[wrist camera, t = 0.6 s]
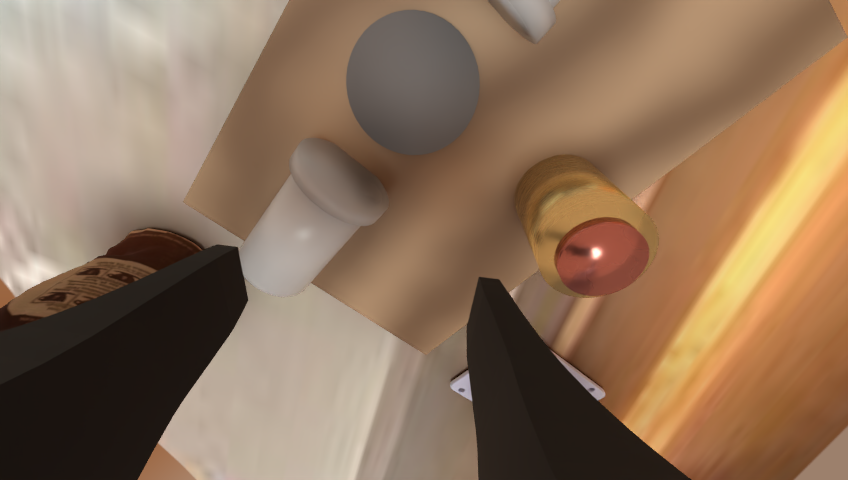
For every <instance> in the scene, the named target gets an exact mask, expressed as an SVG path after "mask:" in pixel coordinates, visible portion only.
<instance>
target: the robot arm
mask: <svg viewBox="0 0 848 480" xmlns="http://www.w3.org/2000/svg"><path fill="white" fill-rule="evenodd" d="M247 302H248V296H247V291H246V286H245V281H244V276H243V271H242V266H241V261H240V256H239V251H238V247H232V246H224V245H215V246H212V247H210V248H207V249H205V250H202V251H200V252H198V253H196V254H193V255H191V256H189V257H187V258H185V259H182V260H180V261H178V262H176V263H174V264H172V265H169V266H167V267H165V268H163V269H161V270H159V271H156V272H154V273H152V274H150V275H148V276H146V277H143V278H141V279H139V280H137V281H134V282H132V283H130V284H127V285H125V286H123V287H120V288H118V289H116V290H113V291H111V292H109V293H106V294H104V295H102V296H99V297H97V298H94V299H92V300H90V301H87V302H85V303H82V304H80V305H77V306H74V307H72V308H69V309H66V310H64V311H61V312H58V313H55V314H53V315H50V316H47V317H44V318H41V319H39V320H36V321H33V322H30V323H27V324H24V325H21V326H18V327H15V328H12V329H8V330H5V331H2V332H0V480H137V479H138V478H139V476H140V474H141V472H142V470H143V469H144V467H145V465H146V463H147V461H148V459H149V457H150V456H151V454H152V452H153V450H154V448H155V447H156V445H157V443H158V441H159V440H160V438H161V436H162V434H163V433H164V431H165V429H166V427H167V426H168V424H169V422H170V421H171V419H172V417H173V415H174V414H175V412H176V411H177V409H178V407H179V406H180V404H181V403H182V401H183V400H184V398H185V397H186V395H187V394H188V393H189V391H190V390H191V388H192V387H193V386H194V384H195V383H196V381H197V380H198V379H199V377H200V376H201V374H202V373H203V372H204V370H205V369H206V367H207V366H208V365H209V363H210V362H211V360H212V359H213V358H214V356H215V355H216V353H217V352H218V350H219V349H220V348H221V346H222V345H223V343H224V342H225V340H226V339H227V338H228V336H229V335H230V333H231V332H232V330H233V329H234V327H235V325H236V323H237V321H238V319H239V318H240V316H241V314H242V312H243V310H244V308H245V306H246V304H247ZM467 362H468V370H467V371H466V372H464V373H463V374H461V375H460V376H458V377H457V378H455V379H454V380H452V381H451V383H450V386H451V389H452V390H454V391H455V392H457V393H459V394H460V395H462V396H464V397H465V398H467V399H469V400H470V401H472V403H473V411H474V419H475V427H476V436H477V448H478V477H479V480H691V479H690V478H688V477H687V476H686V475H684V474H683V473H682V472H681V471H679V470H678V469H677V468H676V467H674V466H673V465H672V464H671V463H669V462H668V461H667V460H666V459H664V458H663V457H662V456H661V455H659V454H658V453H657V452H656V451H654V450H653V449H652V448H651V447H649V446H648V445H647V444H646V443H645V442H643V441H642V440H641V439H640V438H639V437H638V436H636V435H635V434H634V433H633V432H632V431H630V430H629V429H628V428H627V427H626V426H625V425H624V424H623V423H622V422H620V421H619V420H618V419H617V418H616V417H615V416H614V415H613V414H612V413H611V412H609V411H608V410H607V409H606V408H605V407H604V406H603V405H602V404H601V403H600V402H599V401H598V400H600V399H602V398H603V397H604V396H605V391H604V390H603V388H601V387H600V386H598V385H597V384H596V383H594V382H593V381H592V380H590V379H589V378H588V377H586V376H585V375H584V374H582V373H581V372H580V371H578V370H577V369H576V368H574V367H573V366H572V365H570V364H569V363H567V362H566V361H565V360H563V359H562V358H561V357H559V356H558V355H557V354H555V353H554V352H553V351H551V350H550V349H549V348H548V347H547V345H546V344H545V343H544V342H543V340H542V339H541V338H540V336H539V335H538V334H537V332H536V331H535V330H534V328H533V327H532V326H531V324H530V323H529V322H528V320H527V319H526V318H525V316H524V315H523V313H522V312H521V311H520V309H519V308H518V306H517V305H516V303H515V302H514V300H513V299H512V297H511V296H510V294H509V293H508V291H507V290H506V288H505V287H504V285H503V284H502V282H501V281H500V280H499V279H493V278H485V277H479V278H478V282H477V286H476V290H475V295H474V299H473V303H472V307H471V311H470V315H469V319H468V324H467Z"/></svg>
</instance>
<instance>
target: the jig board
mask: <svg viewBox="0 0 848 480" xmlns="http://www.w3.org/2000/svg"><path fill="white" fill-rule="evenodd" d="M403 10H420V11H426V12H429V13H432V14H435V15H437V16H439V17H441V18H443V19H445V20H446V21H448V22H449V23H451V24H452V25H453V26H454V27H455V28H456V29H457V30H459V32H460V33H461V34H462V35H463V36H464V38H465V39H466V41H467V42H468V44H469V45H470V47H471V49H472V51H473V54H474V56H475V59H476V62H477V65H478V71H479V80H480V88H479V97H478V103H477V106H476V109H475V112H474V114H473V117H472V119H471V121H470V122H469V124H468V126H467V127H466V129H465V130H464V131H463V132H462V133H461V135H460V136H459V137H458V138H456V139H455V140H454V141H453V142H452V143H450V144H449V145H447V146H446V147H444V148H442V149H440V150H438V151H435V152H432V153H428V154H422V155H407V154H401V153H397V152H394V151H391V150H389V149H387V148H385V147H383V146H381V145H380V144H378V143H377V142H375V141H374V140H373V139H372V138H371V137H370V136H369V135H367V133H366V132H365V131H364V130H363V129H362V128H361V126H360V124H359V123H358V121H357V120H356V118H355V116H354V114H353V112H352V109H351V106H350V104H349V99H348V95H347V87H346V74H347V66H348V62H349V58H350V55H351V53H352V50H353V48H354V46H355V44H356V42H357V41H358V39H359V38H360V36H361V35H362V34H363V32H364V31H365V30H366V29H367V28H368V27H369V26H370V25H371V24H373V23H374V22H375V21H377V20H378V19H380V18H382V17H384V16H386V15H388V14H391V13H394V12H397V11H403ZM553 10H554V12H555V16H556V23H555V24H554V25H553V26H552V28H551V29H550V30H549V31H548V32H547V33H546V34H545V35H544V36H543V37H542V39H541V40H540V41H539V42H538V43H537V44H533V43H531V42H530V41H528V40H527V39H525V38H524V37H523V36H521V35H520V34H519V33H518V32H517V31H515V30H514V29H513V28H512V27H511V26H510V25H509V24H508V23H507V22H506V21H505V20H504V19H503V18H502V16H501V15H500V14H499V13H498V12H497V11H496V10H495V9H494V8H493V6H492V5H491V4H490V3H489V2H488V1H487V0H289V2H288V4H287V6H286V8H285V9H284V11H283V13H282V15H281V17H280V19H279V21H278V23H277V25H276V27H275V28H274V30H273V32H272V34H271V36H270V38H269V40H268V42H267V44H266V46H265V47H264V49H263V51H262V53H261V55H260V57H259V59H258V61H257V63H256V65H255V66H254V68H253V70H252V72H251V74H250V76H249V78H248V80H247V82H246V84H245V85H244V87H243V89H242V91H241V93H240V95H239V97H238V99H237V101H236V103H235V104H234V106H233V108H232V110H231V112H230V114H229V116H228V118H227V120H226V122H225V123H224V125H223V127H222V129H221V131H220V133H219V135H218V137H217V139H216V141H215V142H214V144H213V146H212V148H211V150H210V152H209V154H208V156H207V158H206V160H205V161H204V163H203V165H202V167H201V169H200V171H199V173H198V175H197V177H196V179H195V180H194V182H193V184H192V186H191V188H190V190H189V192H188V194H187V196H186V198H185V199H184V201H183V202H184V203H185V204H187V205H188V206H190V207H192V208H193V209H195V210H196V211H198V212H199V213H201V214H203V215H204V216H206V217H207V218H209V219H211V220H212V221H214V222H215V223H217V224H219V225H220V226H222V227H223V228H225V229H227V230H228V231H230V232H231V233H233V234H234V235H236V236H238V237H239V238H241V239H242V240H244V241H245V240H246V239H247V237H248V236H249V234H250V233H251V231H252V230H253V228H254V227H255V225H256V224H257V223H258V221H259V220H260V218H261V217H262V215H263V214H264V212H265V211H266V209H267V208H268V206H269V205H270V204H271V202H272V201H273V199H274V198H275V196H276V195H277V193H278V192H279V190H280V189H281V187H282V186H283V185H284V183H285V182H286V180H287V179H288V177H289V176H290V174H291V172H290V169H289V159H290V157H291V155H292V154H293V152H294V151H295V149H296V148H297V146H298V145H299V143H300V142H301V141H302V140H304V139H306V138H319V139H323V140H327V141H329V142H332V143H334V144H336V145H337V146H338V147H340V148H341V149H342V150H343V151H345V152H346V153H347V154H348V155H350V156H351V157H352V158H353V159H355V160H356V161H357V162H359V163H360V164H361V165H362V166H364V167H365V168H366V169H367V170H369V171H370V172H371V173H372V174H374V175H375V176H376V177H377V178H378V179H379V180H380V182H381V183H382V185H383V186H384V188H385V190H386V192H387V195H388V199H389V206H388V208H387V210H386V211H385V212H384V213H383V214H382V215H381V217H380V218H379V219H378V220H377V221H376V222H375V223H373V224H372V225H369V226H360V228H359V229H358V230H357V231H356V232H355V233H354V234H353V235H352V237H351V238H350V239H349V240H348V241H347V242H346V243H345V244H344V246H343V247H342V248H341V249H340V250H339V251H338V252H337V254H336V255H335V256H334V257H333V258H332V259H331V260H330V261H329V263H328V264H327V265H326V266H325V267H324V268H323V269H322V270H321V272H320V273H319V274H318V275H317V276H316V277H315V278H314V280H313V281H312V282H311V283H312V284H314V285H316V286H317V287H319V288H320V289H322V290H323V291H325V292H327V293H328V294H330V295H331V296H333V297H335V298H336V299H338V300H339V301H341V302H343V303H344V304H346V305H347V306H349V307H351V308H352V309H354V310H355V311H357V312H358V313H360V314H362V315H363V316H365V317H366V318H368V319H370V320H371V321H373V322H374V323H376V324H378V325H379V326H381V327H382V328H384V329H385V330H387V331H389V332H390V333H392V334H393V335H395V336H397V337H398V338H400V339H401V340H403V341H405V342H406V343H408V344H409V345H411V346H412V347H414V348H416V349H417V350H419V351H420V352H422V353H424V354H425V355H426V354H428V353H429V352H430V351H432V350H433V349H434V348H436V347H437V346H438V345H440V344H441V343H442V342H444V341H445V340H446V339H448V338H449V337H450V336H452V335H453V334H454V333H456V332H457V331H458V330H460V329H461V328H462V327H464V326H465V325H466V324H468V319H469V315H470V311H471V307H472V303H473V299H474V295H475V290H476V286H477V282H478V278H479V277H485V278H493V279H499V280H500V281H501V282H502V284H503V285H504V287H505V288H506V290H507V291H508V293H509V292H510V291H511V290H513V289H514V288H515V287H517V286H518V285H519V284H521V283H522V282H523V281H525V280H526V279H527V278H529V277H530V276H531V275H533V274H534V273H535V272H537V271H538V270H539V267H538V264H537V262H536V259H535V257H534V254H533V252H532V249H531V247H530V244H529V242H528V239H527V237H526V234H525V232H524V229H523V226H522V224H521V221H520V219H519V216H518V214H517V211H516V208H515V192H516V188H517V186H518V183H519V181H520V180H521V178H522V177H523V175H524V174H525V173H526V172H527V171H528V170H529V169H530V168H531V167H532V166H533V165H535V164H536V163H538V162H539V161H541V160H543V159H546V158H548V157H551V156H555V155H562V154H569V155H576V156H579V157H582V158H584V159H586V160H588V161H589V162H590V163H591V164H593V165H594V166H595V167H596V168H597V169H598V170H599V171H600V172H601V173H603V174H604V175H605V176H606V177H607V178H608V179H609V180H610V181H611V182H612V183H613V184H615V185H616V186H617V187H618V188H619V189H620V190H621V191H622V192H623V193H624V194H626V195H627V196H628V197H629V198H630V199H631V200H632V199H634V198H635V197H636V196H637V195H639V194H640V193H641V192H643V191H644V190H645V189H647V188H648V187H649V186H651V185H652V184H653V183H655V182H656V181H657V180H659V179H660V178H661V177H663V176H664V175H665V174H667V173H668V172H669V171H671V170H672V169H673V168H675V167H676V166H677V165H679V164H680V163H681V162H683V161H684V160H685V159H687V158H688V157H689V156H691V155H692V154H693V153H695V152H696V151H697V150H699V149H700V148H701V147H703V146H704V145H705V144H707V143H708V142H709V141H711V140H712V139H713V138H715V137H716V136H717V135H719V134H720V133H721V132H722V131H724V130H725V129H726V128H728V127H729V126H730V125H732V124H733V123H734V122H736V121H737V120H738V119H740V118H741V117H742V116H744V115H745V114H746V113H748V112H749V111H750V110H752V109H753V108H754V107H756V106H757V105H758V104H760V103H761V102H762V101H764V100H765V99H766V98H768V97H769V96H770V95H772V94H773V93H774V92H776V91H777V90H778V89H780V88H781V87H782V86H784V85H785V84H786V83H788V82H789V81H790V80H792V79H793V78H794V77H796V76H797V75H798V74H800V73H801V72H802V71H803V70H805V69H806V68H807V67H809V66H810V65H811V64H813V63H814V62H815V61H817V60H818V59H819V58H821V57H822V56H823V55H825V54H826V53H827V52H829V51H830V50H831V49H833V48H834V47H835V46H837V45H838V44H839V43H841V42H842V41H843V40H845V39H846V38H847V35H846V33H845V31H844V29H843V27H842V25H841V23H840V21H839V19H838V17H837V15H836V13H835V11H834V9H833V7H832V5H831V3H830V1H829V0H560V1H559V2H558V4H557V5H556V6H555V7H554V8H553Z"/></svg>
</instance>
